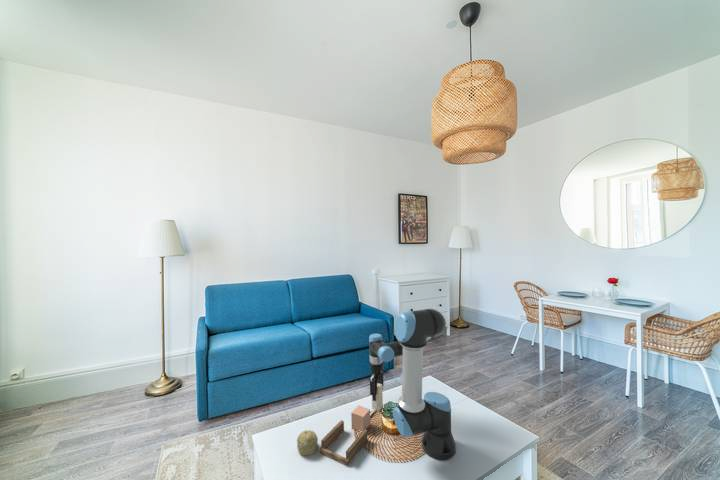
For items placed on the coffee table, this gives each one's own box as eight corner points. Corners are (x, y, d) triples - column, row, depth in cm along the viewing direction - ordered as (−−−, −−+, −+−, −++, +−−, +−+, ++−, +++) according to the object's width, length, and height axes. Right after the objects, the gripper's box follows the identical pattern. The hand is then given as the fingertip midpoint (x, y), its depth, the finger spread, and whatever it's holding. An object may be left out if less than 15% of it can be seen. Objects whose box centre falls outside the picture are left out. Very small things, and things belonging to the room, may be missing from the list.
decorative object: (296, 455, 129) (289, 446, 123) (307, 432, 136) (301, 422, 131) (313, 463, 125) (307, 454, 120) (323, 439, 132) (318, 429, 127)
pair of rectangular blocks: (384, 407, 158) (384, 384, 158) (363, 433, 137) (362, 406, 137) (373, 404, 161) (373, 381, 161) (351, 428, 141) (351, 402, 141)
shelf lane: (367, 440, 132) (367, 429, 132) (347, 466, 118) (347, 454, 118) (341, 429, 140) (341, 420, 140) (319, 452, 125) (319, 441, 125)
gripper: (377, 355, 167) (378, 393, 167) (362, 367, 152) (363, 409, 152) (388, 357, 163) (389, 397, 163) (374, 370, 148) (376, 413, 148)
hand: (377, 403), depth 157 cm, fingers closed on pair of rectangular blocks, 4 cm apart
